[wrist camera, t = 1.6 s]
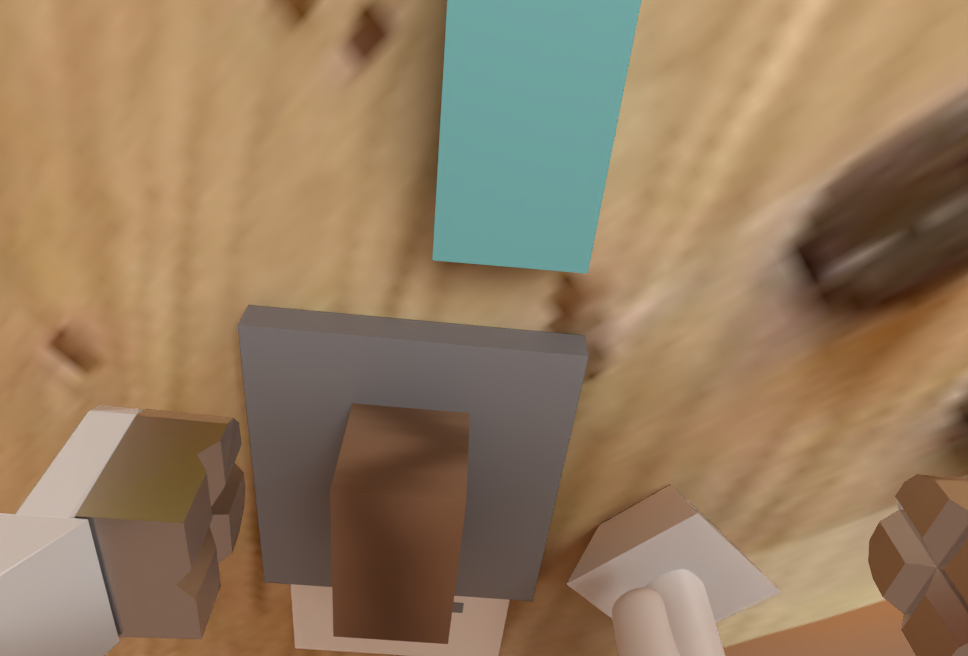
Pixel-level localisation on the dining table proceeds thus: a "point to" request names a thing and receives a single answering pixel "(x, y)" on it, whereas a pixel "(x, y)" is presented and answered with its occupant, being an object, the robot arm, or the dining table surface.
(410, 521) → the walnut block
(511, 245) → the teal block
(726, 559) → the figurine
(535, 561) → the baseplate
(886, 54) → the dining table surface
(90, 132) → the dining table surface
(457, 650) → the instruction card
